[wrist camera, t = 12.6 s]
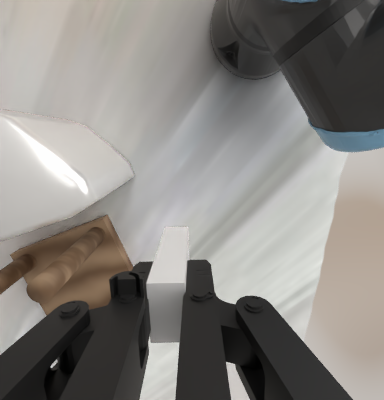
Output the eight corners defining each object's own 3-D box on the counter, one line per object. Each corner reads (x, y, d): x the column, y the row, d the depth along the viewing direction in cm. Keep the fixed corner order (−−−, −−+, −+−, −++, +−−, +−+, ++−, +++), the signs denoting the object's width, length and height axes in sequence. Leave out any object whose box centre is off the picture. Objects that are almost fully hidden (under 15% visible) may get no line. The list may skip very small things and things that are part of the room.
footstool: (148, 298, 54) (121, 394, 34) (65, 328, 56) (-8, 435, 36) (107, 214, 50) (48, 266, 30) (18, 249, 52) (-95, 320, 31)
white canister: (65, 205, 49) (-33, 255, 28) (30, 134, 46) (-109, 129, 25) (137, 179, 48) (92, 211, 27) (107, 104, 45) (28, 73, 24)
